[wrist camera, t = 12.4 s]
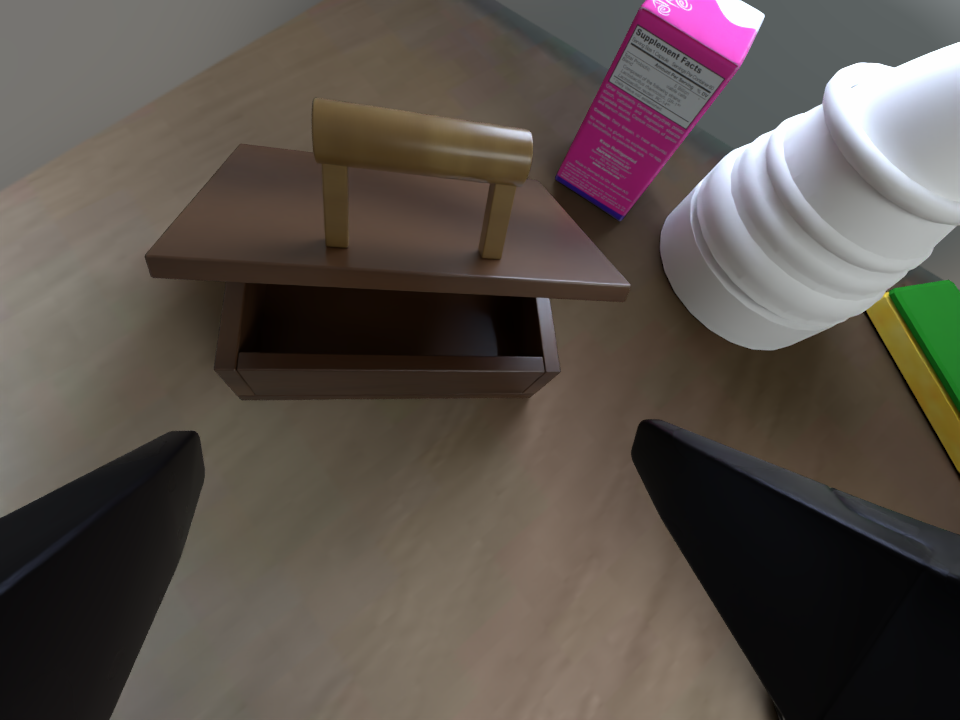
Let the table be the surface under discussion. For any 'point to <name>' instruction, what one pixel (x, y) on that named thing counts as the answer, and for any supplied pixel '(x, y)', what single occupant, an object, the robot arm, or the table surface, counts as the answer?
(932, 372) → the dish sponge
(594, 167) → the supplement box
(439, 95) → the table surface
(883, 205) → the honey pot
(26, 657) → the robot arm
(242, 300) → the tea box
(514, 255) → the lid
